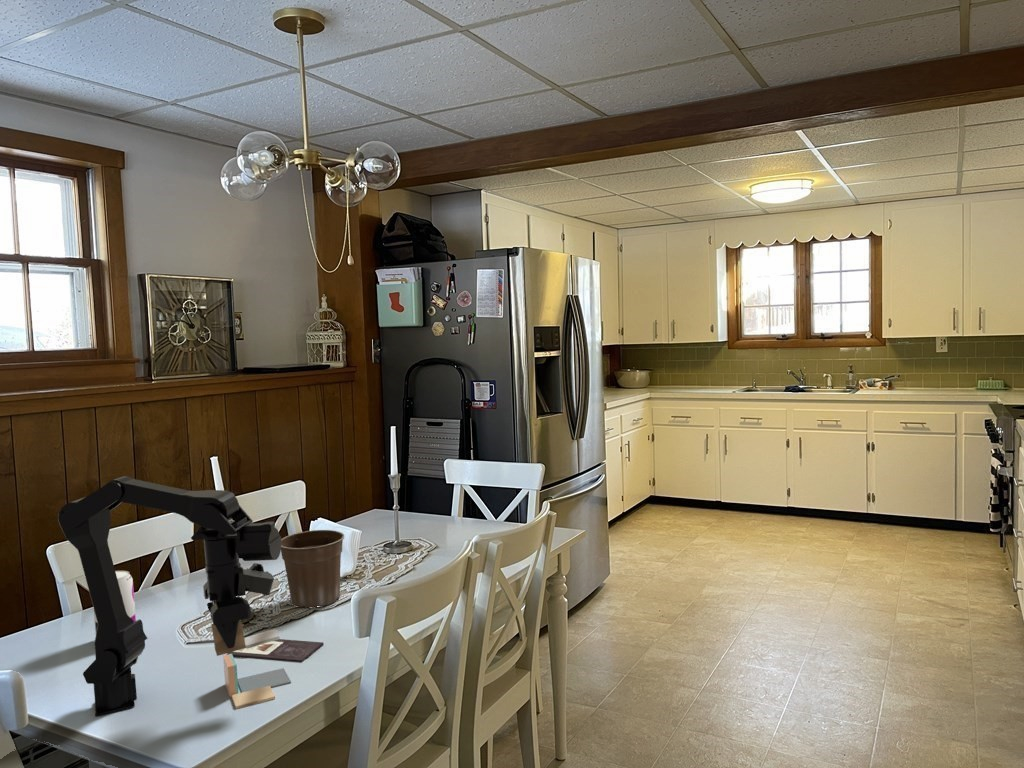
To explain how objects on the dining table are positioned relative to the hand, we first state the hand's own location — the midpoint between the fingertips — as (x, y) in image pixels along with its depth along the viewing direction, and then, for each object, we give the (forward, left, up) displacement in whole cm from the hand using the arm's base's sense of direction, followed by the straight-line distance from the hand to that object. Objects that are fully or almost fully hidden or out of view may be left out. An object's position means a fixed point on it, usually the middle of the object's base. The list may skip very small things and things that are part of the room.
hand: (229, 644), depth 142 cm
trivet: (+7, +7, -12) cm, 15 cm away
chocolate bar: (+12, +21, -12) cm, 27 cm away
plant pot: (+27, +47, -12) cm, 55 cm away
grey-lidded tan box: (+3, 0, -1) cm, 3 cm away
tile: (+1, +7, -12) cm, 13 cm away
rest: (+4, +1, -12) cm, 12 cm away
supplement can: (-18, +47, -12) cm, 52 cm away
